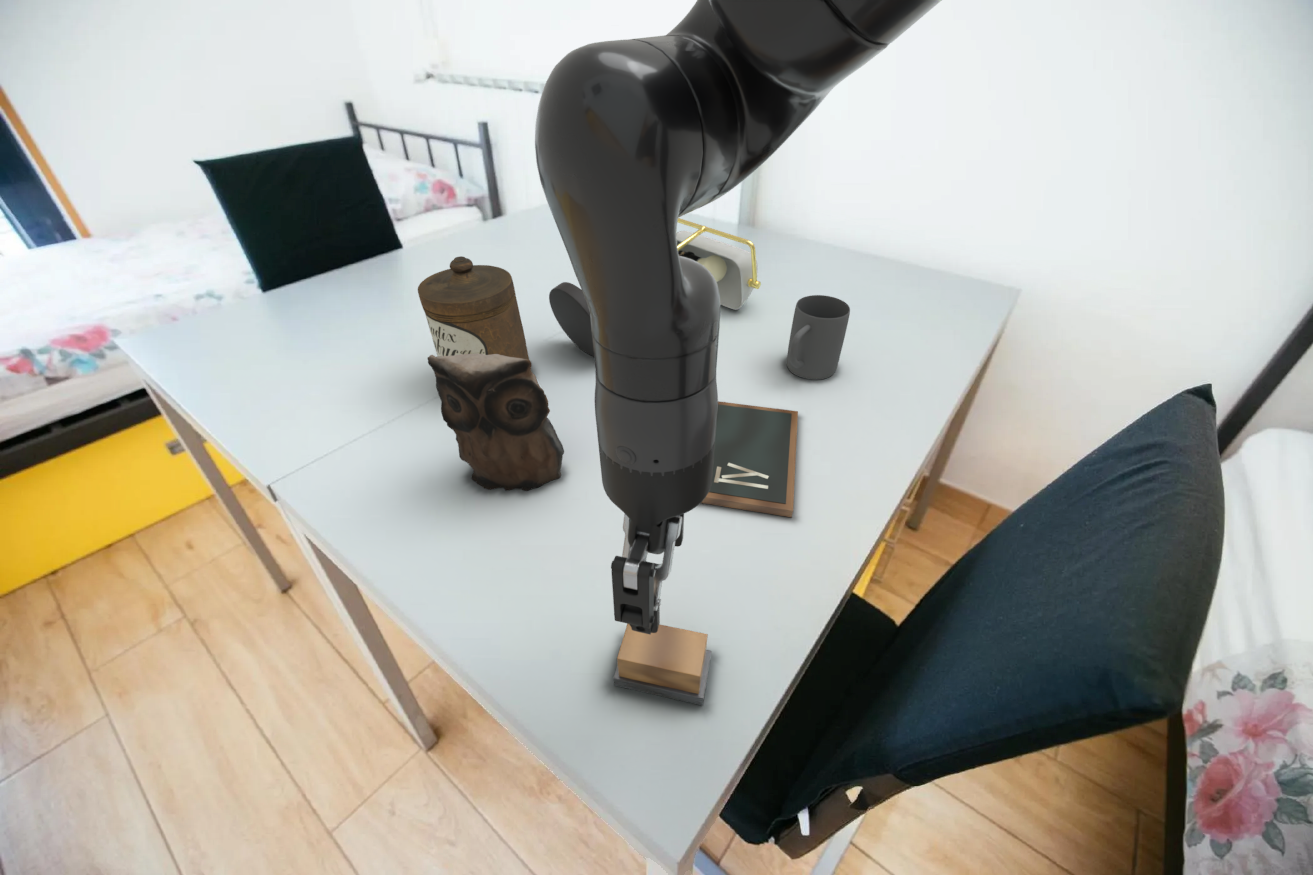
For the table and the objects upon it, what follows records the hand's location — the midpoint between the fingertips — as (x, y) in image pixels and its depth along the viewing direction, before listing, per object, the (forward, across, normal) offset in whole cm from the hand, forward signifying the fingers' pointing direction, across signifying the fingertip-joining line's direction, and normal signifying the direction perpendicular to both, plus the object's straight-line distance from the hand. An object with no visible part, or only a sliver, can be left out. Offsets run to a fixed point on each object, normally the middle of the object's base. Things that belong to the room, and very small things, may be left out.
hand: (658, 581), depth 45 cm
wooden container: (+16, +46, +43) cm, 65 cm away
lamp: (+16, +73, +19) cm, 77 cm away
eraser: (+16, 0, 0) cm, 16 cm away
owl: (+16, +26, +27) cm, 41 cm away
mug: (+16, +61, -12) cm, 64 cm away
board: (+16, +36, -2) cm, 39 cm away
